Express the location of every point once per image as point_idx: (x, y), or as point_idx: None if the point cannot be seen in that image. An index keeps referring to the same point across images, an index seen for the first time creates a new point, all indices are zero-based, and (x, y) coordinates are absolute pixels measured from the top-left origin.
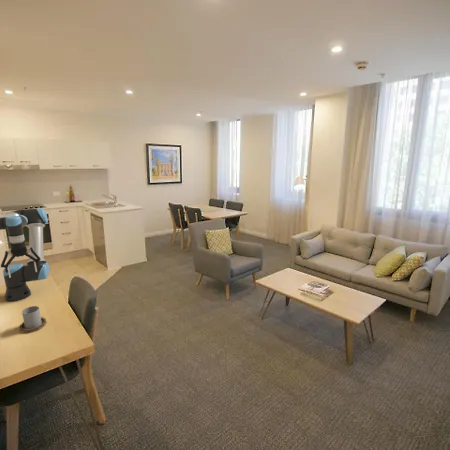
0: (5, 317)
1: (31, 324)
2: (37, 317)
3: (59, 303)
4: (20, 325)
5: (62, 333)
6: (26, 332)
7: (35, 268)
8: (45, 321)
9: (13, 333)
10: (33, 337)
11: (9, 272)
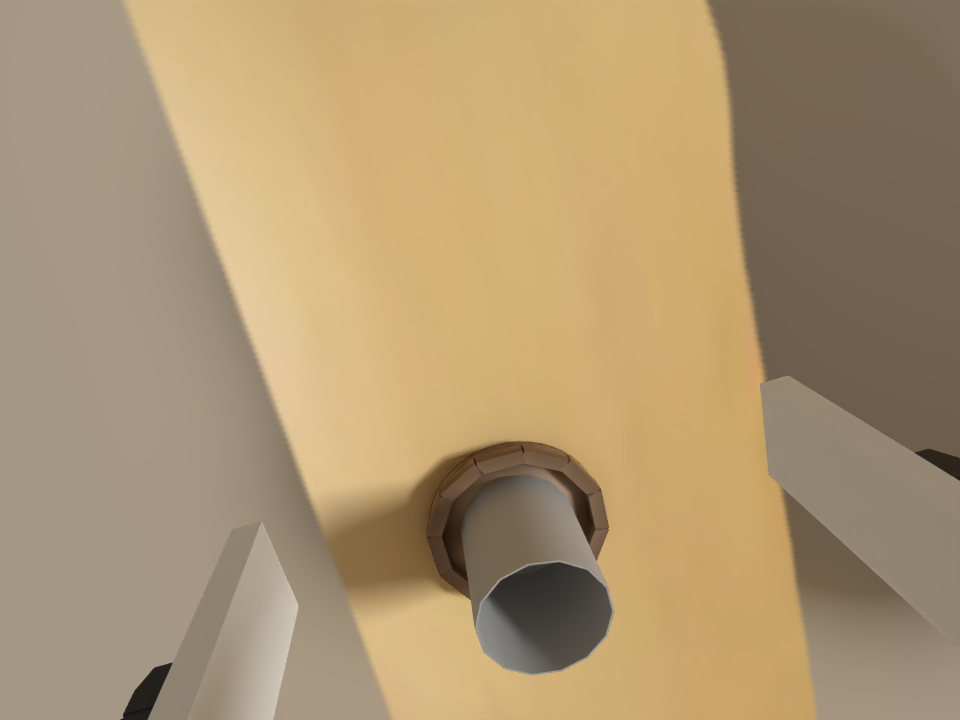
0: (244, 299)
1: (524, 594)
2: (577, 600)
3: (693, 198)
4: (431, 533)
5: (701, 654)
6: None
7: (832, 525)
8: (605, 535)
9: (395, 569)
10: None
11: (264, 714)
